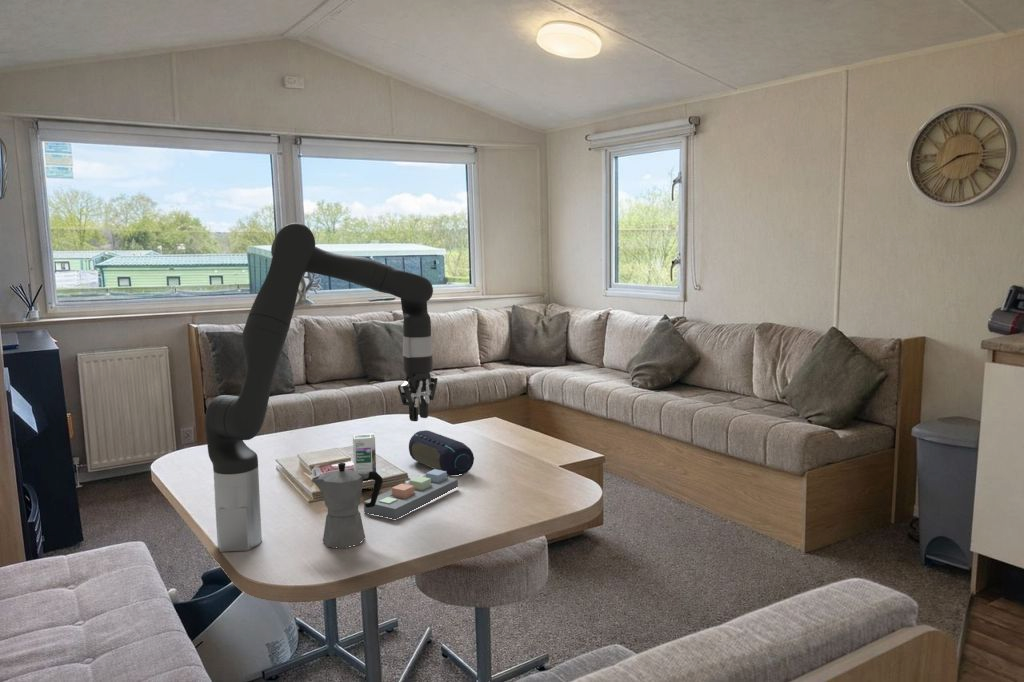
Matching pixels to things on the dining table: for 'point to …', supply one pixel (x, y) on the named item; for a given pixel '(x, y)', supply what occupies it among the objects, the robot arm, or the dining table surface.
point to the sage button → (420, 483)
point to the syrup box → (364, 452)
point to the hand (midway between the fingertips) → (418, 418)
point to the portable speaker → (441, 452)
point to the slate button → (437, 475)
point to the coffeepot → (345, 504)
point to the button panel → (408, 499)
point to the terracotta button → (403, 491)
